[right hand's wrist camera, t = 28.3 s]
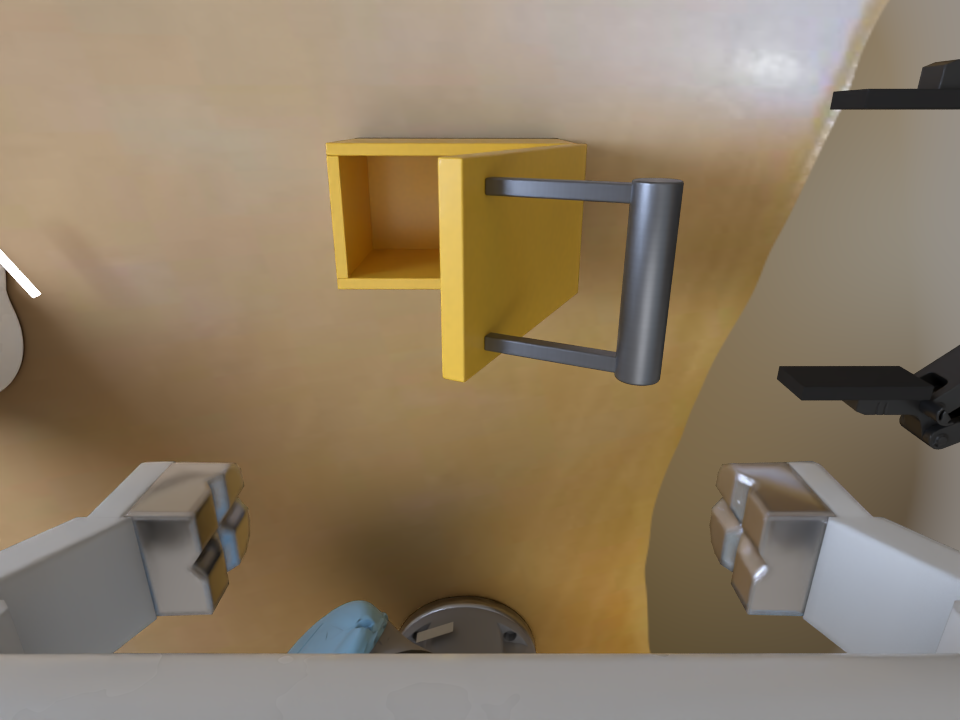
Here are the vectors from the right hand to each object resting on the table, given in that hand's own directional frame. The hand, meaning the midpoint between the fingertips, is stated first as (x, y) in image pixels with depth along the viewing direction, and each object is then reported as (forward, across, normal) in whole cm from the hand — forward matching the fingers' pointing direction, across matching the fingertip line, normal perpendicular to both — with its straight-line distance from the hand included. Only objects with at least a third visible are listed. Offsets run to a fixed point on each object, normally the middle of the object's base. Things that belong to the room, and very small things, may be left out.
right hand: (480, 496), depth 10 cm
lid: (+23, +2, 0) cm, 23 cm away
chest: (+41, -2, 0) cm, 41 cm away
